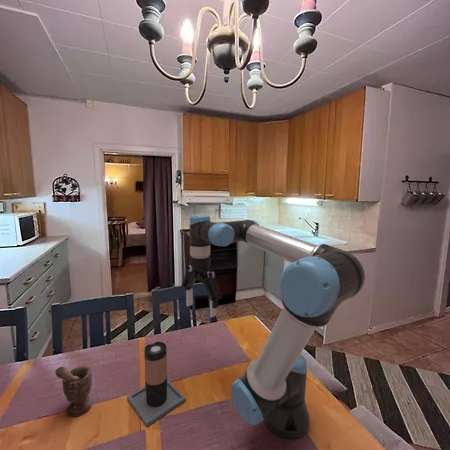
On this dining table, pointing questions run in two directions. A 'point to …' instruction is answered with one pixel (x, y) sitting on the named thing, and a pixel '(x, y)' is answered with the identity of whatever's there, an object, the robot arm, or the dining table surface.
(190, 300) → the robot arm
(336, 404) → the dining table surface
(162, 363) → the travel mug
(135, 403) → the slate tray
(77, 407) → the mortar and pestle
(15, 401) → the dining table surface
